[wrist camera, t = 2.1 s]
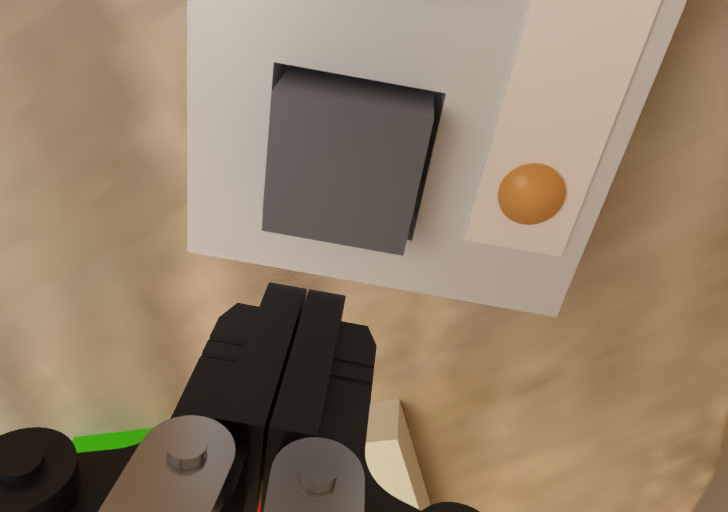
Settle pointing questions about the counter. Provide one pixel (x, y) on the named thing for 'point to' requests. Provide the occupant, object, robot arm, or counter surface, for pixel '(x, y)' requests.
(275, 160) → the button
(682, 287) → the counter surface
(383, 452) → the puzzle game
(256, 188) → the button panel
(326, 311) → the robot arm
